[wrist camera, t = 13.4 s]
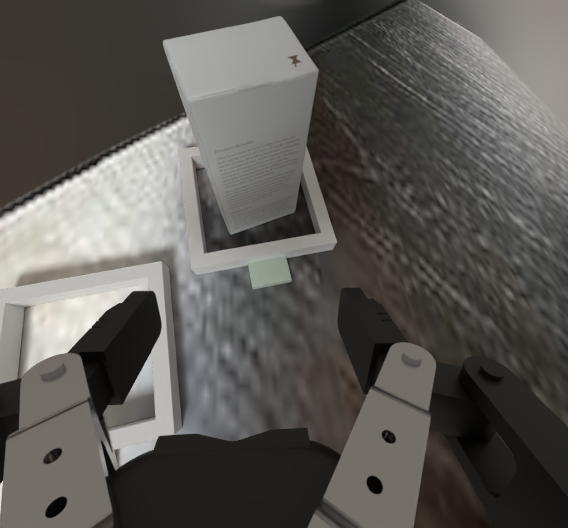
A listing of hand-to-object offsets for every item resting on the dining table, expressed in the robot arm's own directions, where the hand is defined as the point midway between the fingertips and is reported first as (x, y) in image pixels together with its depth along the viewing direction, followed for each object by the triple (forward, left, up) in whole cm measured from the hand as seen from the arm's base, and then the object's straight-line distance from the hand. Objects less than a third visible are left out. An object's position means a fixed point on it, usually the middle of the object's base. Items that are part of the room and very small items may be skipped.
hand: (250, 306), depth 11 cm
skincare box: (-2, -10, -8) cm, 13 cm away
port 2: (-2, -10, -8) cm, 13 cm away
